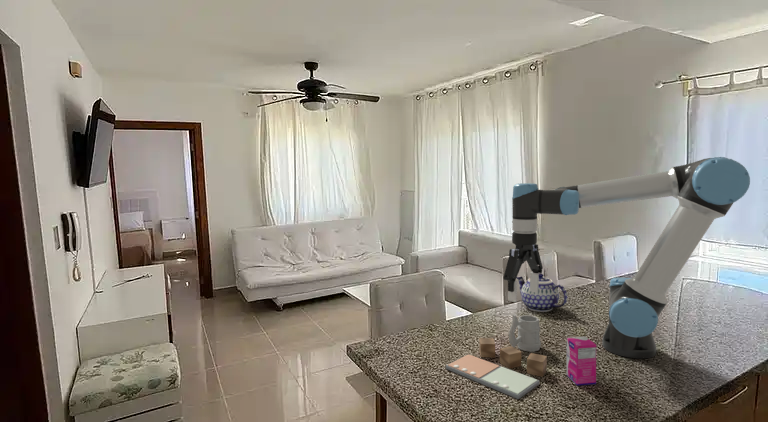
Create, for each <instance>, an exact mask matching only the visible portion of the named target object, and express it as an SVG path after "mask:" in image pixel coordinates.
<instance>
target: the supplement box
mask: <svg viewBox="0 0 768 422" xmlns="http://www.w3.org/2000/svg"><path fill="white" fill-rule="evenodd" d="M566 376H567V377H568V378H569V380H571V381H572V382H573V384H575V385H576V386H577V387H578V386H585V385H586V386H591V385H597V344H596V342H594V341H592V340H591V339H590V338H588V337H586V336H576V337H573V336H572V337H566Z"/></svg>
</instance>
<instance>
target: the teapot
mask: <svg viewBox="0 0 768 422" xmlns="http://www.w3.org/2000/svg"><path fill="white" fill-rule="evenodd" d="M524 279H525V278H524V277H523V276H521V275H520V276H518V275H517V278H516V280H517V282H518V284H519V285H518V286H519V292H520V296H521V300H522V303H523V304H524V305H525V306H526V307H527V309H528V310H529V311H533V312H539V313H540V312H541V313H546V312H551V311H552V310H553V309H555V308H561V307H564V306H565V305H566V304H567V302H568V292H567V290H566V288H565V287H564V286H563V285H562V284H557V285H556V284H555V283H554V282H553V280H552V279H551V278H549V277H544V273H539V289H538V293H535V292H531V291H530V277H529V278H528V279H527V281H526V282H525V280H524ZM559 288H560V290H561V292H562V294H563V302H561V304H559V302H560V291H559Z"/></svg>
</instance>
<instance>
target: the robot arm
mask: <svg viewBox="0 0 768 422" xmlns="http://www.w3.org/2000/svg"><path fill="white" fill-rule="evenodd" d="M750 184H751V177H750V173H749V171H748V170H747V168H746V167H745V165H743V164H741V162H739V161H737V160H734V159H732V158H728V157H724V156H718V157H709V158H703V159H700V160H697V161H694V162H690V163H687V164H683V165H682V164H681V165H677V166H671V167H670V168H669V169H668V170H667V171H661V172H660V171H659V172H654V173H653V172H652V173H647V174H643V175H641V174H640V175H634V176H628V177H622V178H615V179H610V180H609V179H608V180H602V181H596V182H591V183H584V184H578V185H571V186H570V185H569V186H561V187H557V188H556V189H539V187H538V184H537V183H529V182H527V183H524V182H523V183H516V184H514V185H513V187H512V197H511V200H512V201H511V202H512V208H511V209H512V216H511V217H512V221H511V223H512V224H511V225H512V227H511V228H512V231H513V232H512V233H511V238H512V239H511V242H512V244H513V245H515V249H513V248H510V249H509V252H508V253H509V254H508V259H507V263H506V267H505V270H504V274H503V281H507V301H509V302H513V303H517V302H518V280H517V277H518V274H519V272H520V271H521V268H522V265H523V264H524V263H525V262H526V263H527V264H528V265H527V266H529V268H530V272H529V278H530V291H531V292H535V293H538V289H539V273H541V274H543V267H544V266H543V264H542V260H541V255H540V251H539V244H538V243H537V242H538V234H537V231H538V214H539V215H542V214H543V215H544V214H545V215H563V216H569V215H571V216H572V215H577V214H578V213H579V211H580V210H579V209H582V208H588V207H589V208H590V207H597V206H604V205H605V206H606V205H612V204H620V203H622V204H623V203H628V202H629V203H630V202H637V201H644V200H652V199H658V198H667V197H673V198H675V199H676V200H677V201H678V203H679V205H678V206H677V207H676V210H675V211H674V213H673V214H672V216H671V217H670V219H669V221H668V222H667V224H666V225H665V227H664V229H663V231H662V232H661V233H660V235H659V237H658V238H657V240H656V241H655V243H654V245H653V247H652V248H651V250H650V251H649V253H647V254H648V255H647V256H646V258H645V259H644V261H643V263H642V264H641V266H640V267H639V268H638V270H637V273H636V274H635V276H634V277H613V278H611V279H610V281H609V285H608V287H609V307H608V308H609V309H608V324H607V327H606V329H605V331H604V333H603V336H602V340H601V341H602V342H601V343H602V347H603V348H604V349H605V350H606V351H608V352H610V353H612V354H615V355H618V356H621V357H625V358H630V359H651V358H654V356H656V355H657V344H656V341H655V338H654V336H653V333H654V331H655V330H656V329H657V327H658V324H659V317H660V315H661V314H662V312H663V310H664V309H665V307H666V306H667V304H668V303H669V302H668V300H667V299H668V298H667V296H666V294H667V292H668V291H669V289H670V288H671V286H672V285H673V283H674V281H675V280H676V278H677V277H678V276H679V274H680V272H681V271H682V269H683V268H684V266H685V265H686V263H687V262H688V260H689V258H690V257H691V255H692V254H693V253H694V251H695V250H696V248H697V247H698V245H699V243H700V242H701V240H702V239H703V237H704V236H705V234H706V233H707V231H708V229H709V228H710V227H711V225H712V224H713V222H714V221H715V220H716V219H718V218H719V219H720V218H722V217H725V216H726V215H727V213H728V212H729V211H730V209H731V208H732V206H733V205H734V203H737V201H739V200H740V199H742V198H743V197H744V196H745V195H746V193H747V192H748V190H749V188H750Z"/></svg>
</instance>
